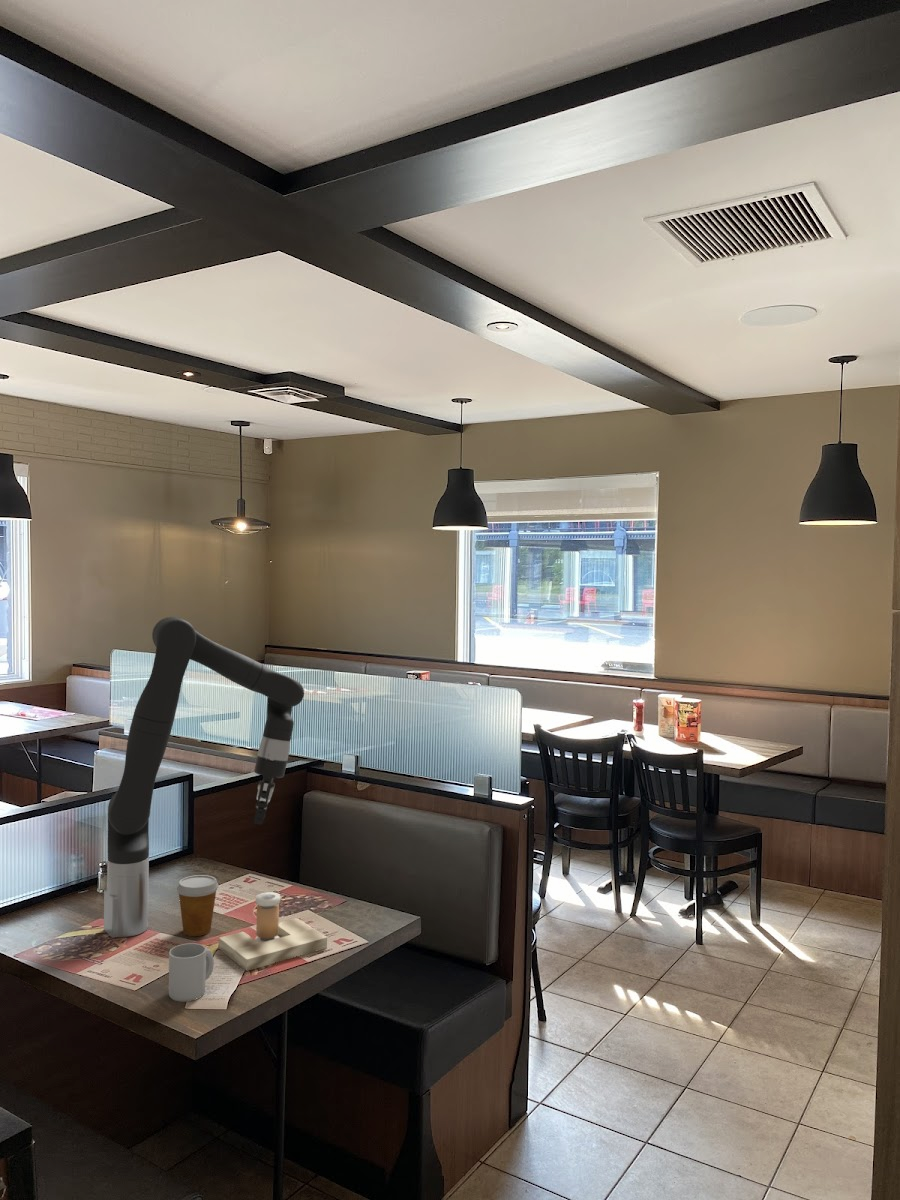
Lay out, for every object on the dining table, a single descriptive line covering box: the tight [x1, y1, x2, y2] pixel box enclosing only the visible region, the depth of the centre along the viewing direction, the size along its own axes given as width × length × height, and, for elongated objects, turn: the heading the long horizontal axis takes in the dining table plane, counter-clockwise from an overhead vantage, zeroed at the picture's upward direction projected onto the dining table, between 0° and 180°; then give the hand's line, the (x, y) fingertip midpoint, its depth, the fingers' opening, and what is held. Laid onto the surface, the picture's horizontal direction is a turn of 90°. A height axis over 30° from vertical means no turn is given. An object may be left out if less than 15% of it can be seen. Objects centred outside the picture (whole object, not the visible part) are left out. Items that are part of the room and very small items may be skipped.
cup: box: [168, 942, 215, 1003], centre depth 185 cm, size 7×10×9 cm
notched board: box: [218, 917, 328, 972], centre depth 206 cm, size 20×14×2 cm
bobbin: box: [254, 891, 281, 943], centre depth 209 cm, size 6×6×11 cm
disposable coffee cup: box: [176, 874, 219, 937], centre depth 215 cm, size 10×10×12 cm
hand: (259, 820), depth 226 cm, fingers open, 8 cm apart
